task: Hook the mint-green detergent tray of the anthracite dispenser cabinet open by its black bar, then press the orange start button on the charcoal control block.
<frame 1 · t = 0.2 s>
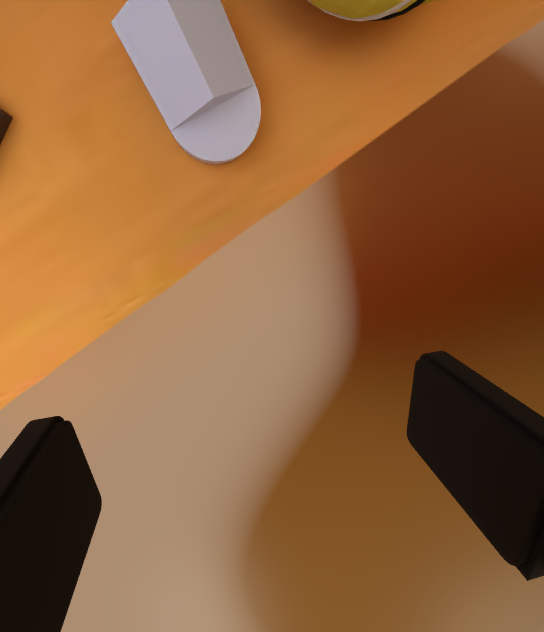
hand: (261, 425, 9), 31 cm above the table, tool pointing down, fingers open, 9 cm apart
wedge on round base: (201, 95, 31), on the table
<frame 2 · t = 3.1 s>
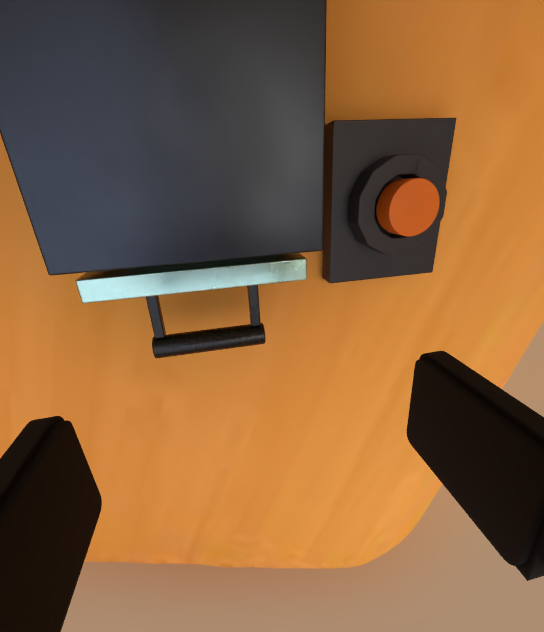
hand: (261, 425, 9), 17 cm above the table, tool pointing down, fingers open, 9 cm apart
dispenser: (183, 119, 20), on the table
control block: (377, 204, 24), on the table
start button: (407, 207, 21), point 4 cm above the table, slide at 0.1 cm
detergent tray: (191, 200, 18), point 5 cm above the table, slide at 0.5 cm
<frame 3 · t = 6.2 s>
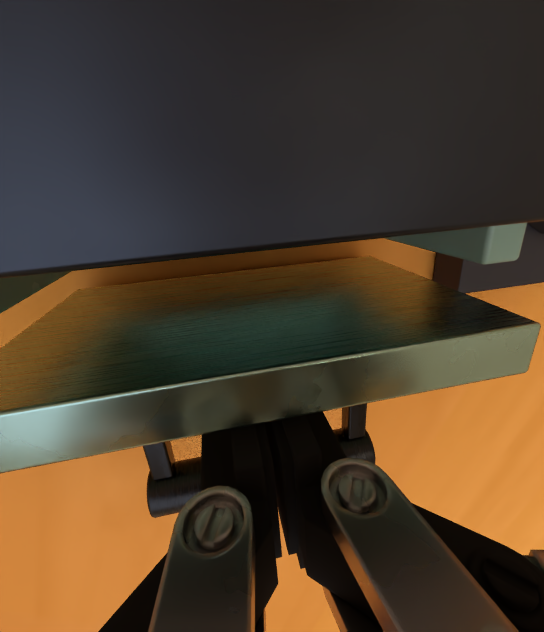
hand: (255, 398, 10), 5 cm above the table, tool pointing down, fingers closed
control block: (540, 152, 14), on the table
detergent tray: (231, 181, 8), point 5 cm above the table, slide at 2.2 cm, touching gripper
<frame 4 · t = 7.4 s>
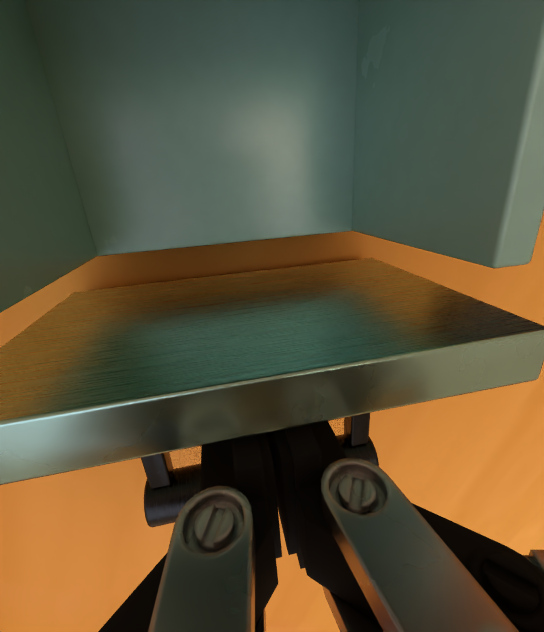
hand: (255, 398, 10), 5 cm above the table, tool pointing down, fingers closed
detergent tray: (231, 182, 7), point 5 cm above the table, slide at 6.6 cm
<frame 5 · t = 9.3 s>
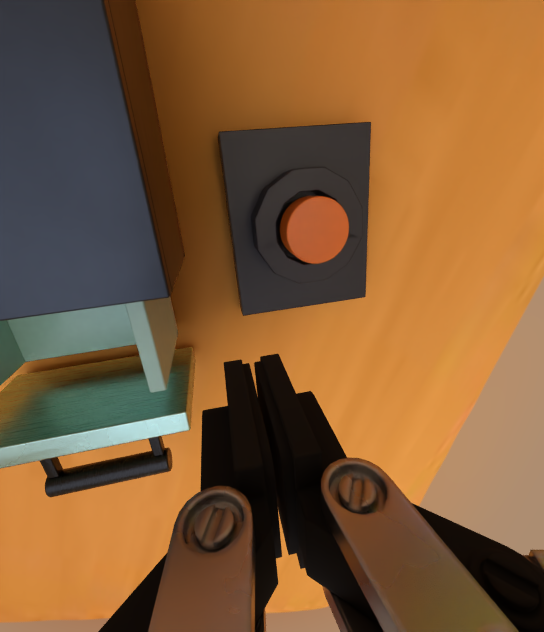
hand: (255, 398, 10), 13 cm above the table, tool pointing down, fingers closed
dispenser: (42, 137, 17), on the table
control block: (295, 223, 21), on the table
start button: (313, 229, 18), point 4 cm above the table, slide at 0.1 cm
detergent tray: (72, 343, 17), point 5 cm above the table, slide at 6.2 cm
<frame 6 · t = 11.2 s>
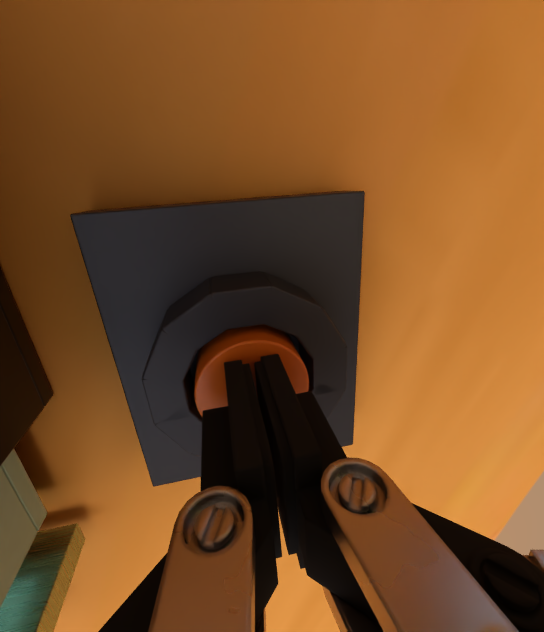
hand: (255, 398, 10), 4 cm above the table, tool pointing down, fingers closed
control block: (241, 337, 13), on the table
start button: (250, 377, 10), point 3 cm above the table, slide at -0.8 cm, touching gripper
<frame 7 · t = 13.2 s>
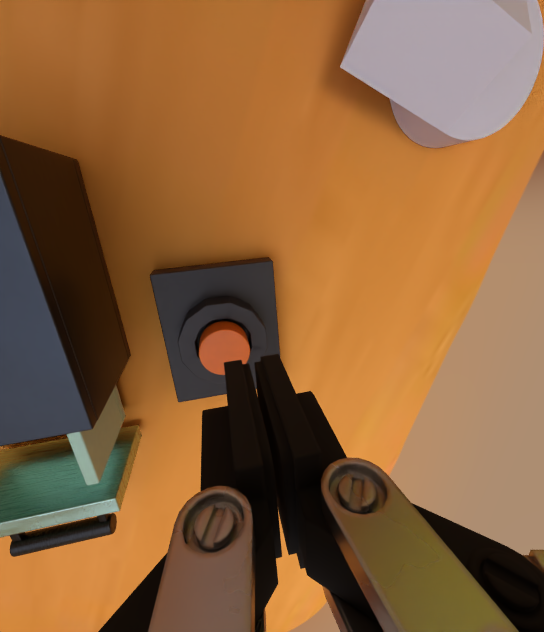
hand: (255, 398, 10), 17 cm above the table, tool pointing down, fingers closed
dispenser: (14, 278, 22), on the table
control block: (222, 327, 26), on the table
start button: (224, 347, 23), point 4 cm above the table, slide at 0.1 cm
detergent tray: (32, 439, 22), point 5 cm above the table, slide at 6.2 cm
wedge on round base: (422, 66, 23), on the table
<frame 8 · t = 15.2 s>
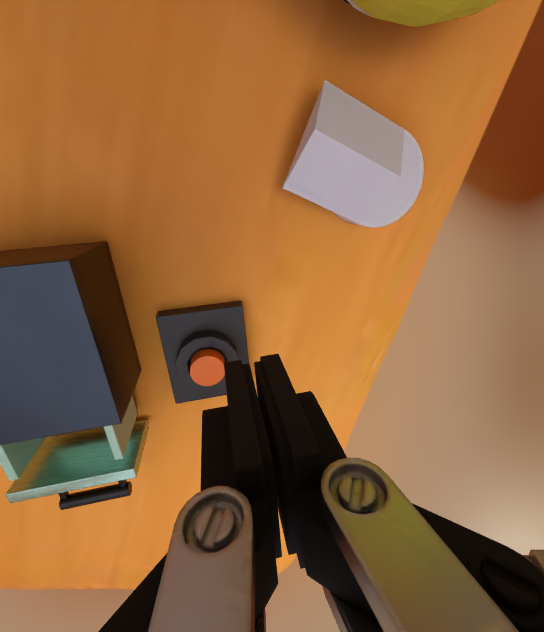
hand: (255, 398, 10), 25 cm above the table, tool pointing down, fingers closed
dispenser: (61, 319, 32), on the table
control block: (207, 349, 36), on the table
start button: (207, 367, 33), point 4 cm above the table, slide at 0.1 cm
detergent tray: (76, 429, 32), point 5 cm above the table, slide at 6.2 cm
wedge on round base: (347, 171, 32), on the table
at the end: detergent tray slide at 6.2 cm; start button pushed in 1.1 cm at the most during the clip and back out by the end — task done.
